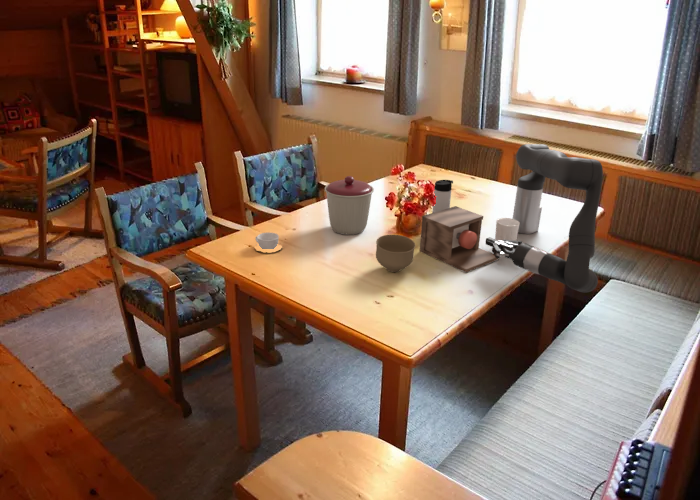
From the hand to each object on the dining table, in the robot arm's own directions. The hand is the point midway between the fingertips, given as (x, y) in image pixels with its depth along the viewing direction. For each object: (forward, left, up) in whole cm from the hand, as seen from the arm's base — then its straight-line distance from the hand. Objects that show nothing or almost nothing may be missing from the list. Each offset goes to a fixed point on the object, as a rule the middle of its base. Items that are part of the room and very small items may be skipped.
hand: (487, 240), depth 189 cm
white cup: (-15, -11, -9) cm, 21 cm away
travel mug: (0, -32, -9) cm, 33 cm away
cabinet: (+4, -10, -9) cm, 14 cm away
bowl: (+30, -6, -9) cm, 32 cm away
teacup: (+65, -35, -10) cm, 75 cm away
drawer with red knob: (+4, -12, -6) cm, 14 cm away
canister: (+33, -43, -9) cm, 55 cm away
